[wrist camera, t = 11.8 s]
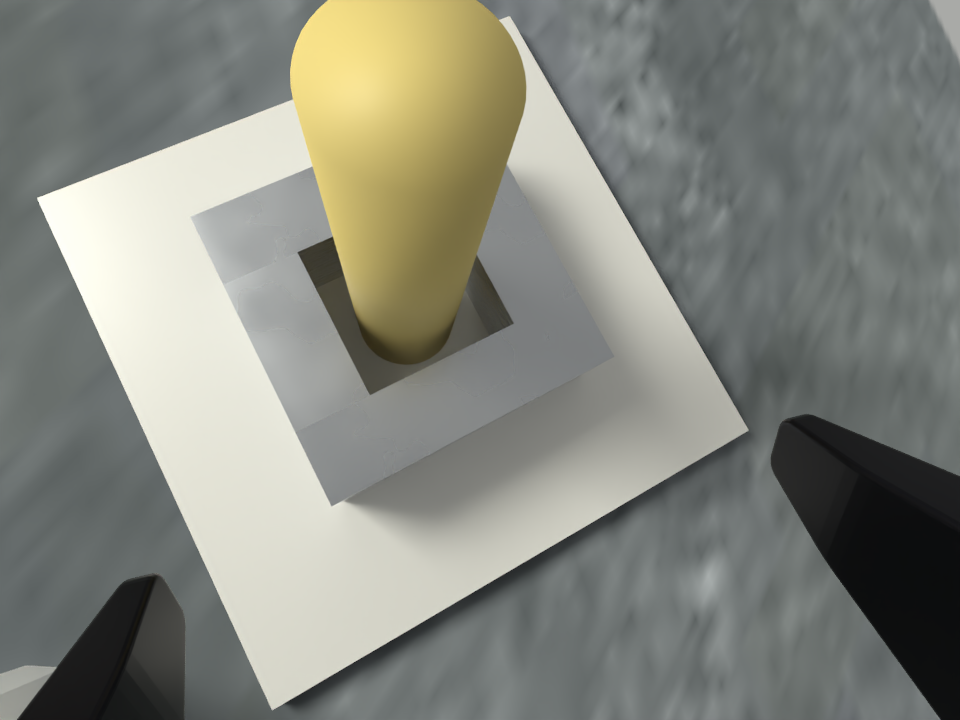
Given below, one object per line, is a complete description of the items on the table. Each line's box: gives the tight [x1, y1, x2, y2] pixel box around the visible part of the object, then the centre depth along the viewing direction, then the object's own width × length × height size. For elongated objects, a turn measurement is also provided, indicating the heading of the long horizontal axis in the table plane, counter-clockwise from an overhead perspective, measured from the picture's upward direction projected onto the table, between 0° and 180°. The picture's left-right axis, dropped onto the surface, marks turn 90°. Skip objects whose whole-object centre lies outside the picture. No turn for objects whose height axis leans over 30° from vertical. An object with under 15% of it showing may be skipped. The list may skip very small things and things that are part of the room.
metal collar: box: [190, 165, 614, 506], centre depth 19 cm, size 9×9×4 cm
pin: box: [290, 0, 527, 365], centre depth 15 cm, size 3×3×13 cm
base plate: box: [37, 16, 749, 710], centre depth 21 cm, size 18×18×1 cm
